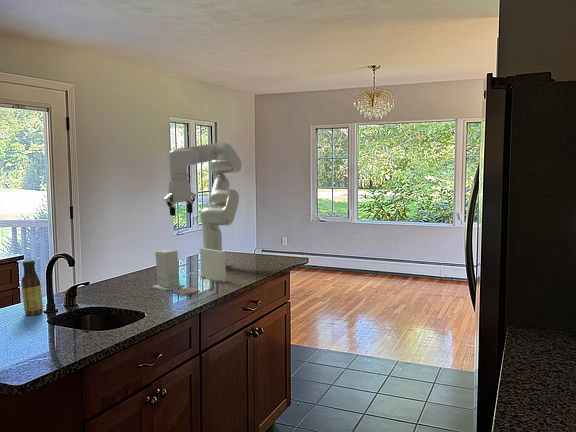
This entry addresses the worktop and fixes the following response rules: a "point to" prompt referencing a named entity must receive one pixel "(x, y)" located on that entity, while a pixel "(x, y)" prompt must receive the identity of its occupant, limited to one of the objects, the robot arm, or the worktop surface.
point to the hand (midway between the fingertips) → (181, 214)
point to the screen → (213, 265)
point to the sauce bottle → (31, 289)
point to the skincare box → (167, 268)
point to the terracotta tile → (185, 291)
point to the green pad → (167, 287)
